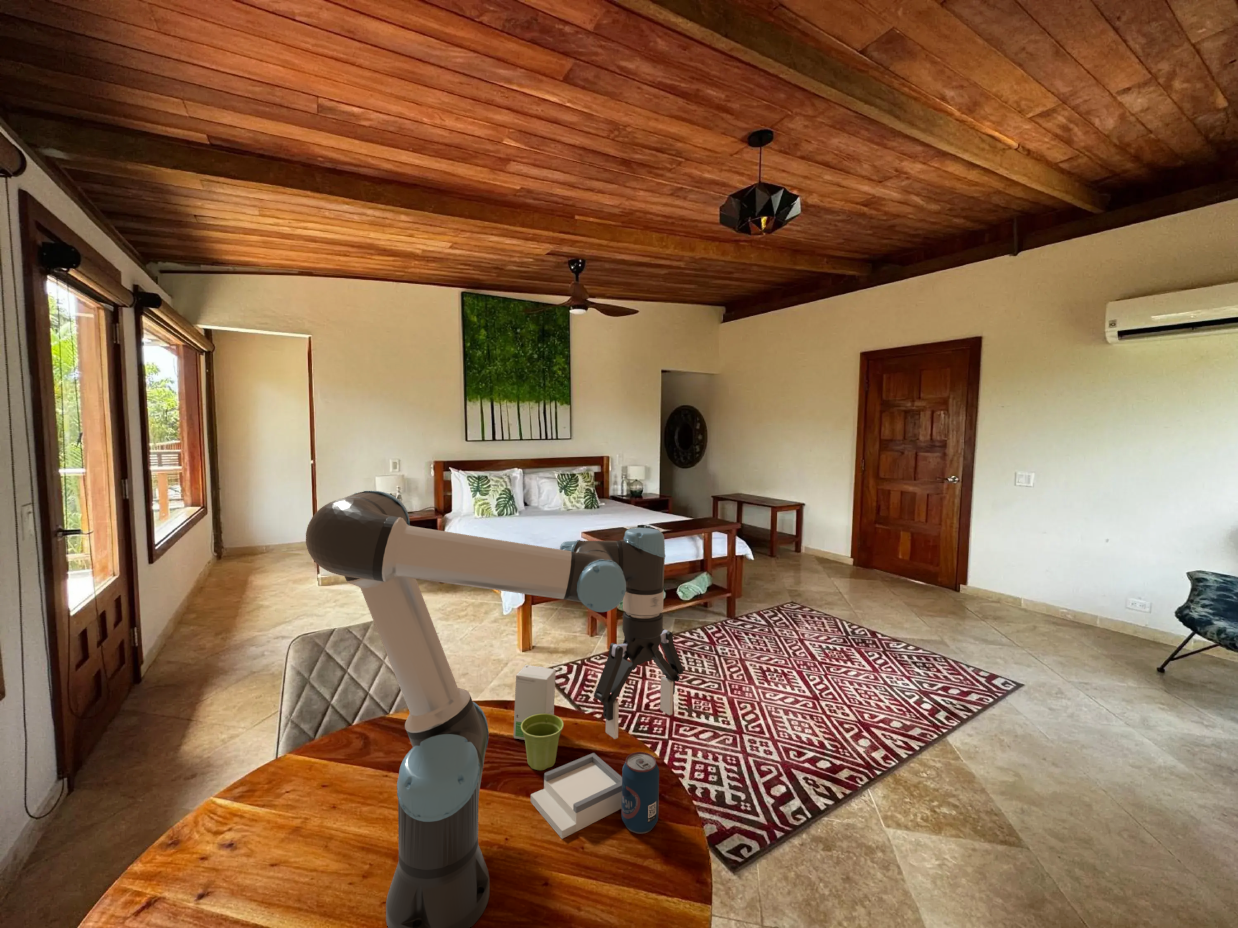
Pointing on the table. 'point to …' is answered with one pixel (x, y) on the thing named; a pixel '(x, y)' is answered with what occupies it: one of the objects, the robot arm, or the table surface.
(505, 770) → the table surface
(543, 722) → the plant pot
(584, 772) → the dock
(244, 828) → the table surface
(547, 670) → the skincare box
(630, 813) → the soda can
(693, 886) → the table surface
